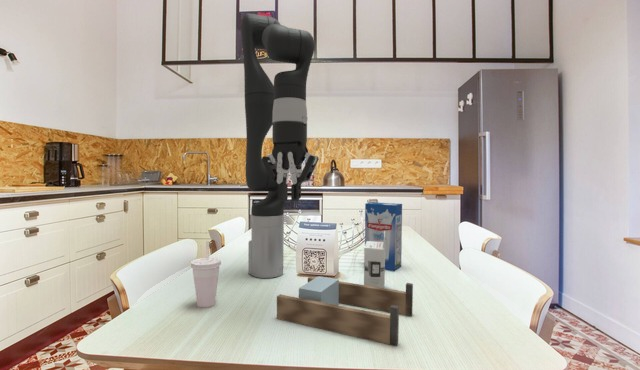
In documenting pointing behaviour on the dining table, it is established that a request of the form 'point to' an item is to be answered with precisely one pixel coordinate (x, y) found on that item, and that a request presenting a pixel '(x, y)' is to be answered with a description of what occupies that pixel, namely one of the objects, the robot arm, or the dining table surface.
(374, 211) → the milk carton
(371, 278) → the ink box
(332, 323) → the chute
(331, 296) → the slate block
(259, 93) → the robot arm
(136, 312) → the dining table surface
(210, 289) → the smoothie
